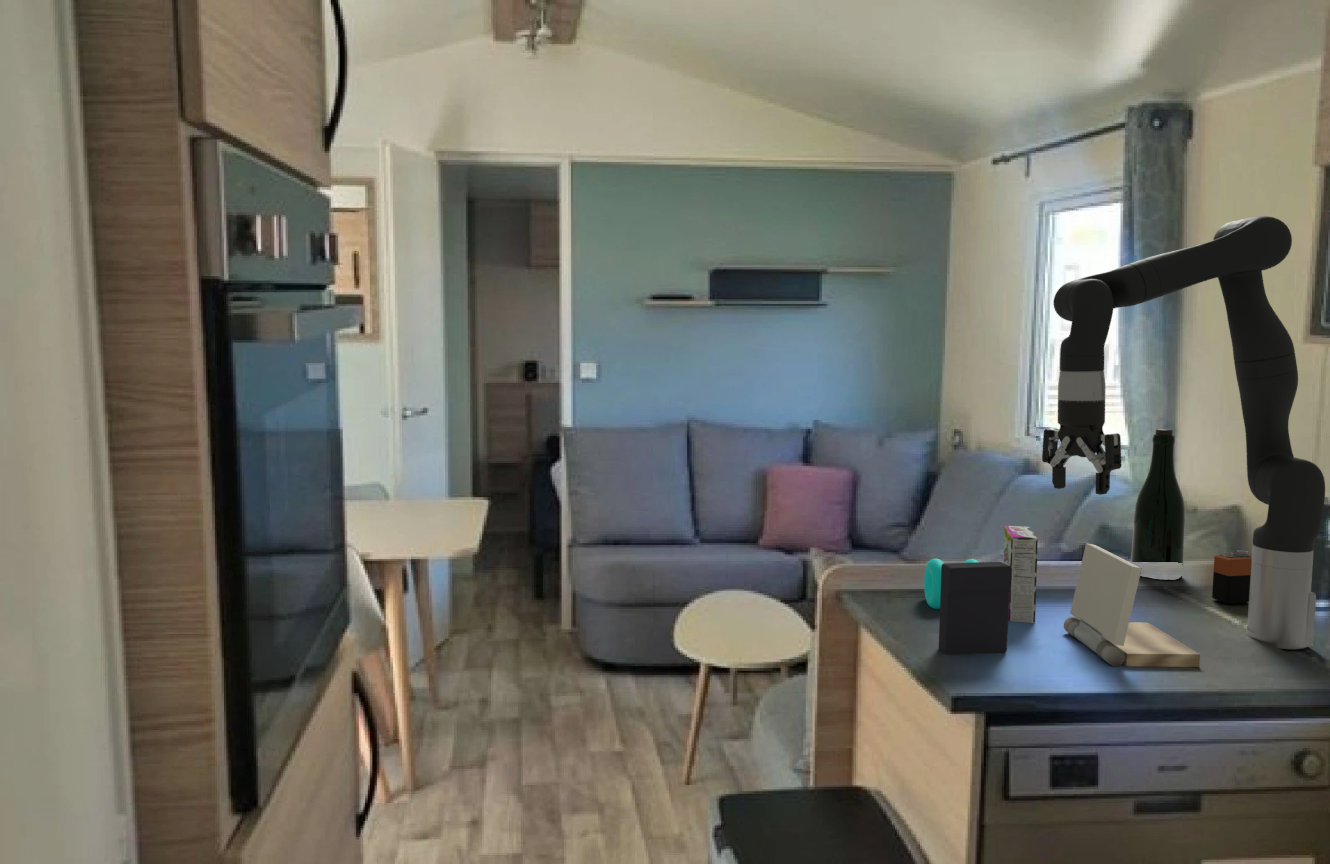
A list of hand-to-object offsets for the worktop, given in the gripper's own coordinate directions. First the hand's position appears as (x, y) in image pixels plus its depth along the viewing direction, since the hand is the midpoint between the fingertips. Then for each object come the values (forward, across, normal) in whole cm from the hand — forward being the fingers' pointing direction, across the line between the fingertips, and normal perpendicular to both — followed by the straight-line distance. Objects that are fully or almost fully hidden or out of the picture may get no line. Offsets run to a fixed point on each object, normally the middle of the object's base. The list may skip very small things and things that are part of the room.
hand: (1080, 491), depth 174 cm
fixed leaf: (+27, -8, -4) cm, 28 cm away
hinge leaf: (+25, -4, +2) cm, 25 cm away
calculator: (+26, +4, +21) cm, 34 cm away
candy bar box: (+26, +16, -3) cm, 31 cm away
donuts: (+26, +25, +5) cm, 36 cm away
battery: (+28, +3, -51) cm, 58 cm away
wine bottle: (+28, +24, -56) cm, 66 cm away
